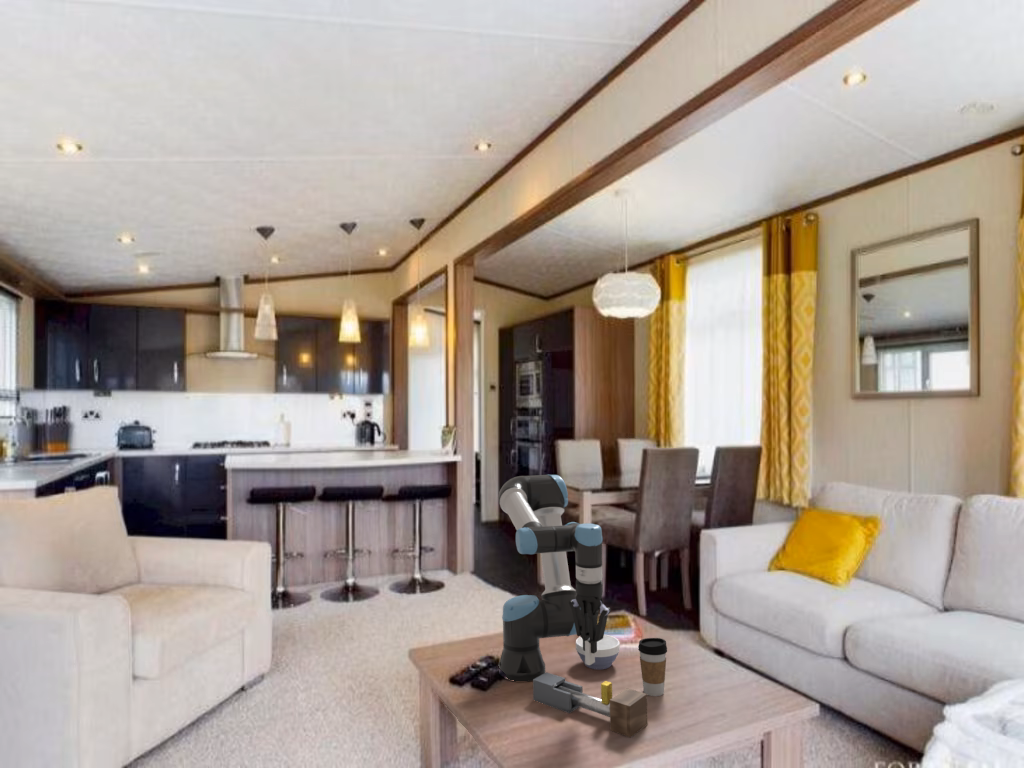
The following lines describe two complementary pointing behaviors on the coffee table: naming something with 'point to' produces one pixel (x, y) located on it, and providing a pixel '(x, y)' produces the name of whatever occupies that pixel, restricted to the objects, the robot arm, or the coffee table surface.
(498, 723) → the coffee table surface
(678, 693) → the coffee table surface
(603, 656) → the bowl
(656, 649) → the coffee cup
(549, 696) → the sleeve
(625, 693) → the socket
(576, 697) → the tube
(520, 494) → the robot arm
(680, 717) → the coffee table surface
